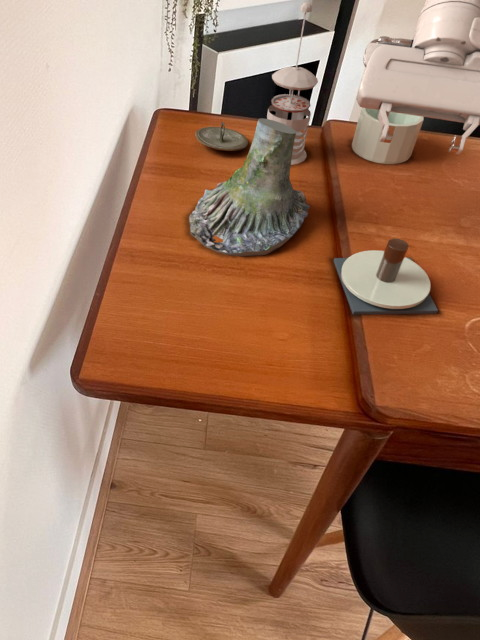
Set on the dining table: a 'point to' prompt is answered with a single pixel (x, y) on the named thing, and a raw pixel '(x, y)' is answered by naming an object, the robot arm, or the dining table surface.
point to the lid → (221, 138)
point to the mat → (367, 308)
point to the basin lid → (386, 277)
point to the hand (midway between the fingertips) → (420, 146)
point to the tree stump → (254, 199)
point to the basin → (370, 134)
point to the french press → (294, 99)
